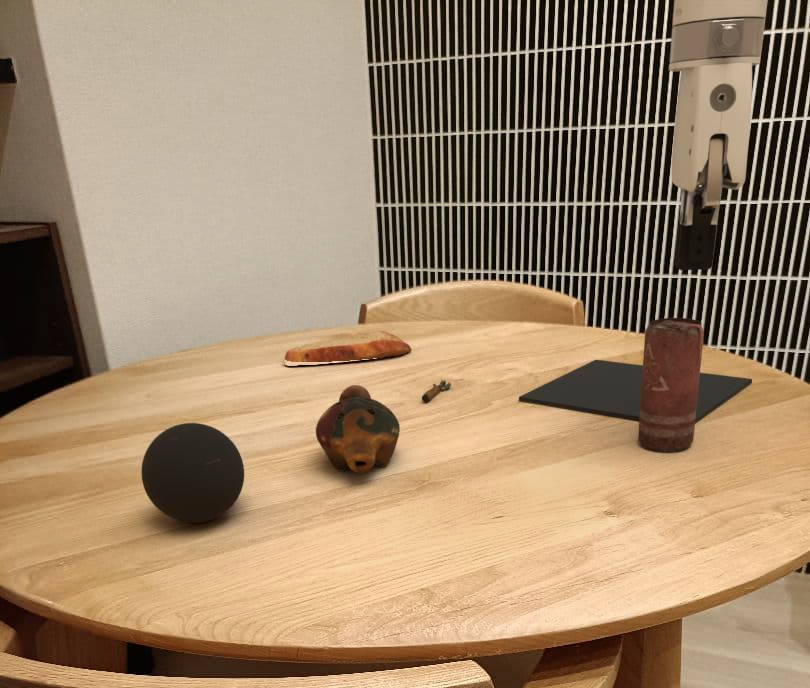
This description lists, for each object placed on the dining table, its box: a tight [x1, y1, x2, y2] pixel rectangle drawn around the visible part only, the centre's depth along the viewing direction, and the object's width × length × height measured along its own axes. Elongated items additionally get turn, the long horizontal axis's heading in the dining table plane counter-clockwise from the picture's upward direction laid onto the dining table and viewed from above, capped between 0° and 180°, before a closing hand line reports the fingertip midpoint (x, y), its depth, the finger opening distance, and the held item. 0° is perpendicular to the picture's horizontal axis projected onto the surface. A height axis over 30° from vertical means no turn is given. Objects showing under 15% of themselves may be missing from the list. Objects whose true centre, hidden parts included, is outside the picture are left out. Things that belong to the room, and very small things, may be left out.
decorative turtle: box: [315, 384, 401, 474], centre depth 94 cm, size 10×15×8 cm, turn 10°
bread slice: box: [283, 330, 412, 362], centre depth 140 cm, size 18×18×4 cm
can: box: [637, 317, 705, 453], centre depth 92 cm, size 6×6×14 cm
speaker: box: [141, 422, 245, 524], centre depth 82 cm, size 10×10×10 cm
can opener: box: [421, 379, 452, 403], centre depth 118 cm, size 9×2×1 cm, turn 152°
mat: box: [518, 359, 753, 424], centre depth 113 cm, size 24×22×1 cm
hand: (693, 268), depth 79 cm, fingers closed
